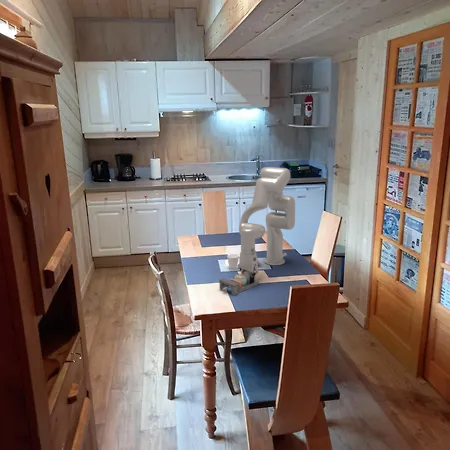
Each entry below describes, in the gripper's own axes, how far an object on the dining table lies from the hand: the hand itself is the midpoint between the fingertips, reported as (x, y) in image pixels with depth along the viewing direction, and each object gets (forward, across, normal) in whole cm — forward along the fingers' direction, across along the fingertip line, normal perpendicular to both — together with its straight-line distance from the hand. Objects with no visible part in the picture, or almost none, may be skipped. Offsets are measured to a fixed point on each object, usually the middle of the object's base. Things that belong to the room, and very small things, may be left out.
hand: (248, 281), depth 229 cm
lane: (+1, 0, +6) cm, 7 cm away
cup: (+2, +20, -11) cm, 23 cm away
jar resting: (+1, 0, +6) cm, 6 cm away
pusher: (+1, 0, +14) cm, 14 cm away
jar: (+1, 0, 0) cm, 1 cm away
